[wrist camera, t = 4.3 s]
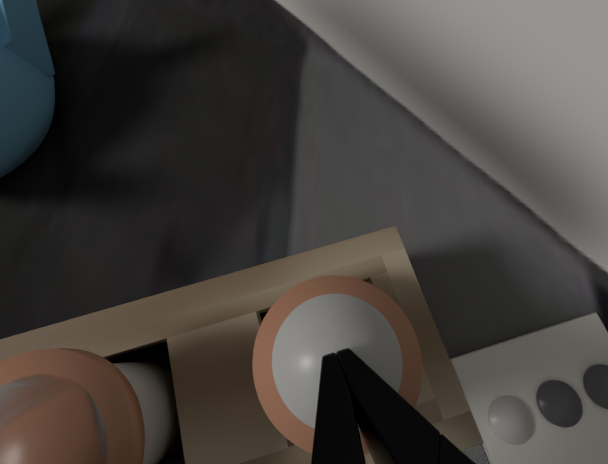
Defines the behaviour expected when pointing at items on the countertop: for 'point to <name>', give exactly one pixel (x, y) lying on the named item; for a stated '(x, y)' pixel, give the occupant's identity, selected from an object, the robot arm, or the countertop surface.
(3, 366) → the middle button
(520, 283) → the countertop surface
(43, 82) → the teapot
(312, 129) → the countertop surface
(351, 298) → the button
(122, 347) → the button box
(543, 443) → the pattern card
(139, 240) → the countertop surface
